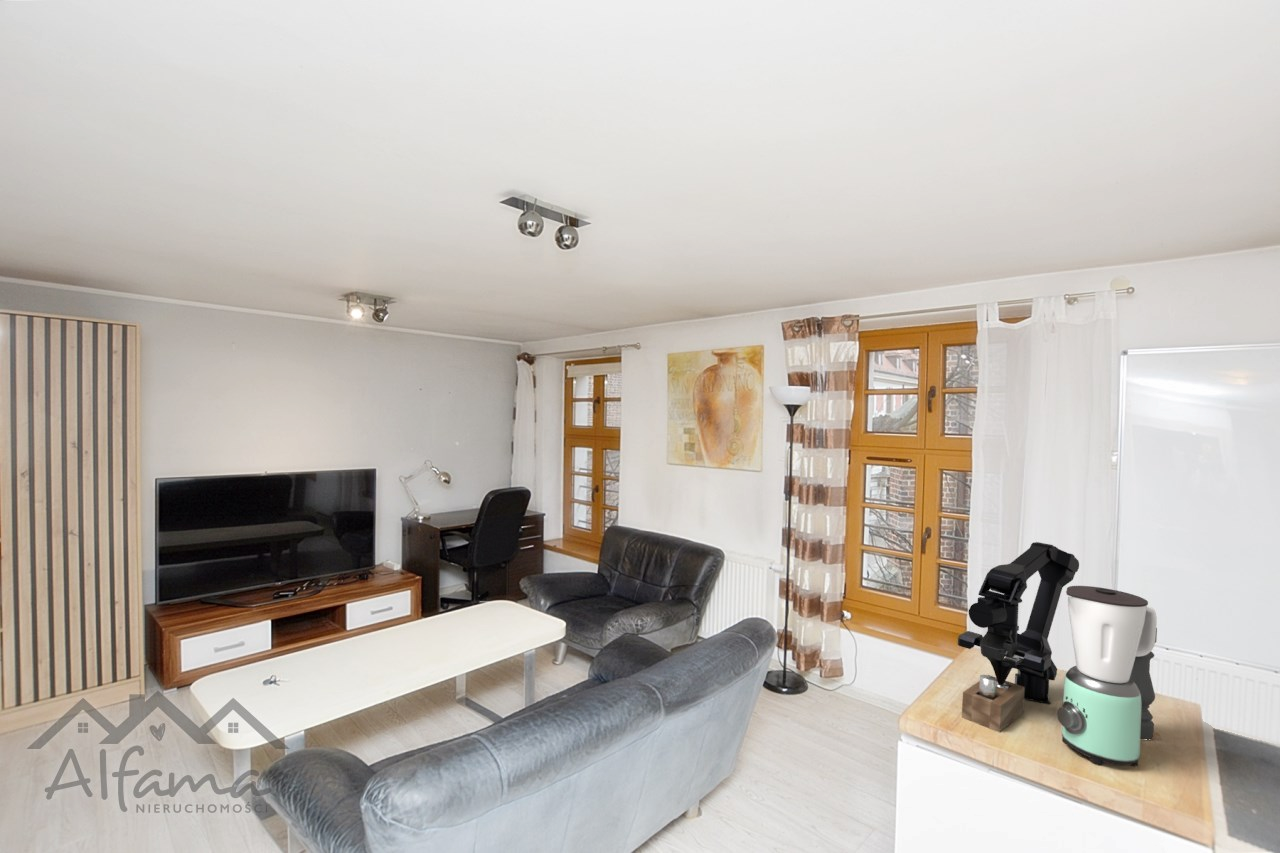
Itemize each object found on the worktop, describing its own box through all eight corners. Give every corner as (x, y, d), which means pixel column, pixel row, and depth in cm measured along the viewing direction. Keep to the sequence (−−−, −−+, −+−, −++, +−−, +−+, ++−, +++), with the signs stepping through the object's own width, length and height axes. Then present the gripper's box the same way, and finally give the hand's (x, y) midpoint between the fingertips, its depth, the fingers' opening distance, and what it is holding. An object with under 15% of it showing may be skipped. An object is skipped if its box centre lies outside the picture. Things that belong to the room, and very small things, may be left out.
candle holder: (1144, 729, 133) (1150, 622, 133) (1159, 742, 127) (1164, 631, 127) (1112, 723, 135) (1117, 618, 135) (1125, 736, 129) (1130, 627, 129)
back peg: (1006, 705, 141) (1007, 683, 141) (1008, 711, 138) (1009, 688, 138) (991, 702, 142) (992, 680, 142) (993, 707, 139) (994, 685, 139)
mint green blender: (1088, 771, 115) (1096, 599, 115) (1037, 735, 128) (1044, 580, 128) (1176, 771, 116) (1184, 601, 116) (1117, 735, 130) (1124, 582, 129)
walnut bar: (1023, 711, 139) (1024, 686, 139) (999, 732, 129) (1000, 705, 129) (987, 698, 145) (988, 674, 145) (961, 717, 135) (962, 692, 135)
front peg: (993, 699, 135) (994, 676, 135) (995, 705, 132) (996, 682, 132) (978, 696, 136) (979, 673, 136) (979, 702, 133) (981, 679, 133)
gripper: (949, 616, 142) (947, 678, 142) (1037, 640, 128) (1034, 709, 128) (967, 608, 149) (965, 667, 149) (1053, 630, 135) (1050, 696, 135)
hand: (1001, 684), depth 140 cm, fingers closed, pressing on back peg
